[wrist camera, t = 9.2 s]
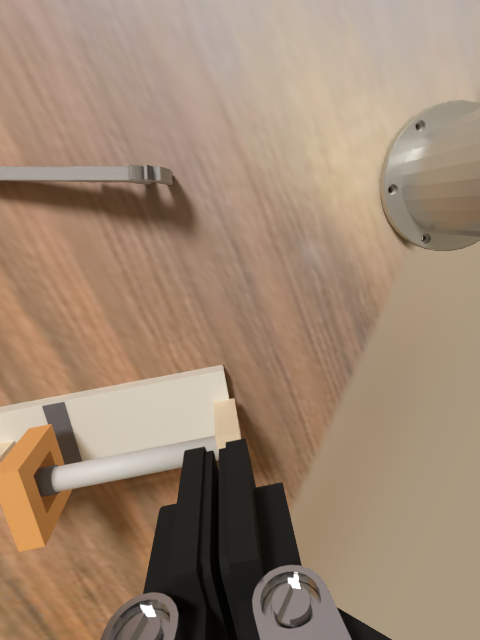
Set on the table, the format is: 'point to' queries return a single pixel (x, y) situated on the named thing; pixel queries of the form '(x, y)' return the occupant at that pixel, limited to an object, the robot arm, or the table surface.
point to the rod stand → (126, 427)
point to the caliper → (89, 174)
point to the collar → (31, 488)
